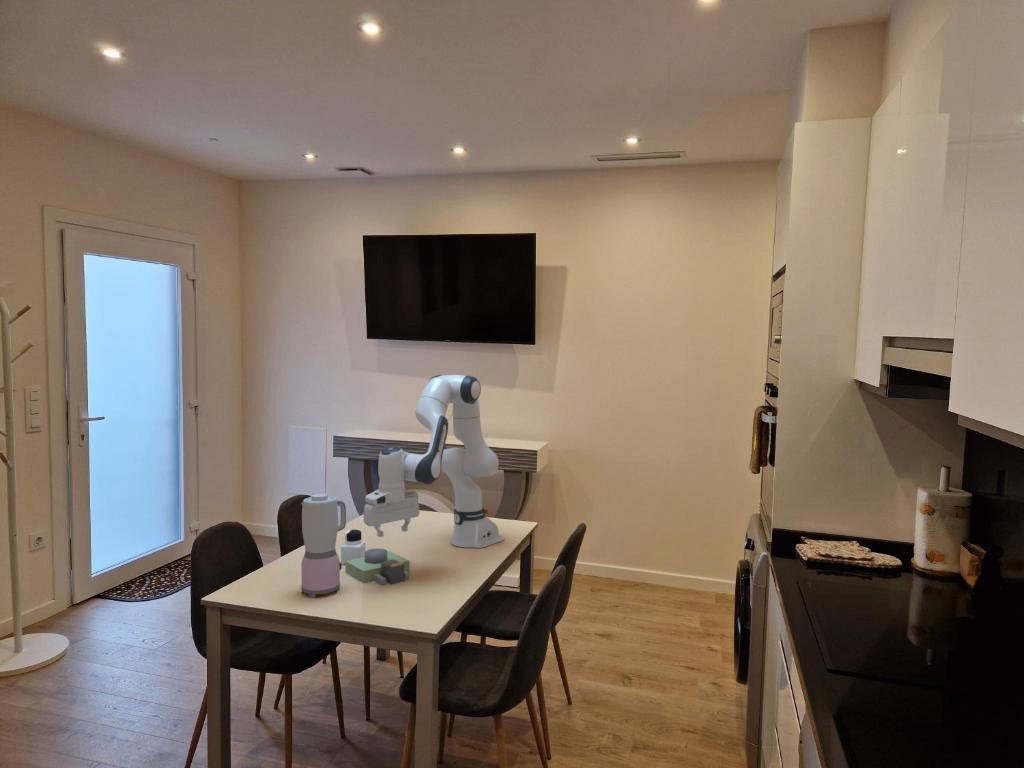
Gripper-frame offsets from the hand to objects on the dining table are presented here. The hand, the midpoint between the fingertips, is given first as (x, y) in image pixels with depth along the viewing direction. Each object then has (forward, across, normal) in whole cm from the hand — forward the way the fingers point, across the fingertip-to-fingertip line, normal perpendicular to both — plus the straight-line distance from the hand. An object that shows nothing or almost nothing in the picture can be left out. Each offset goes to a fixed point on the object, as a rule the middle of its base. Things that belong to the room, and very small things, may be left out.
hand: (392, 533), depth 232 cm
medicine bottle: (+17, +3, -25) cm, 30 cm away
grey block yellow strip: (+16, +1, 0) cm, 16 cm away
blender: (+16, +23, -5) cm, 28 cm away
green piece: (+16, +1, -7) cm, 18 cm away
